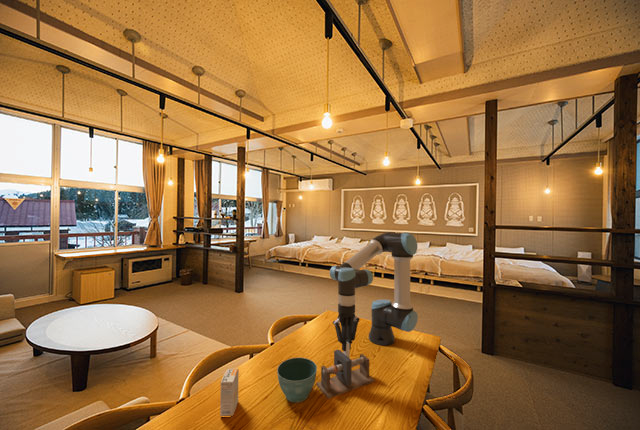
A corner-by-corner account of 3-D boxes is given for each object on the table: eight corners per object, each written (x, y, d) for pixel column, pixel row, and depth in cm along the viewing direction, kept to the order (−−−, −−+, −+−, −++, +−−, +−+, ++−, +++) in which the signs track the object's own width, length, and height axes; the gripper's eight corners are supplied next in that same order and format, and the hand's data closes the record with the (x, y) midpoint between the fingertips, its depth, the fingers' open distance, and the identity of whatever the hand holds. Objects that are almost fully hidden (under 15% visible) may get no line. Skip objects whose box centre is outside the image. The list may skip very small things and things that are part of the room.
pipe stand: (360, 369, 121) (360, 350, 121) (374, 381, 112) (374, 360, 112) (316, 384, 109) (316, 363, 109) (327, 399, 100) (327, 376, 101)
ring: (338, 371, 115) (338, 349, 115) (351, 384, 106) (351, 360, 106) (334, 373, 114) (334, 350, 114) (346, 385, 105) (346, 361, 105)
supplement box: (226, 402, 98) (226, 368, 99) (238, 401, 99) (239, 368, 99) (219, 418, 90) (219, 381, 90) (233, 418, 91) (233, 381, 91)
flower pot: (301, 416, 92) (301, 386, 92) (268, 399, 100) (268, 371, 100) (324, 390, 105) (324, 364, 106) (293, 378, 114) (293, 353, 114)
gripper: (353, 299, 118) (353, 350, 117) (329, 303, 112) (329, 357, 111) (363, 303, 111) (363, 357, 111) (338, 308, 105) (338, 365, 104)
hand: (346, 357), depth 111 cm, fingers closed
